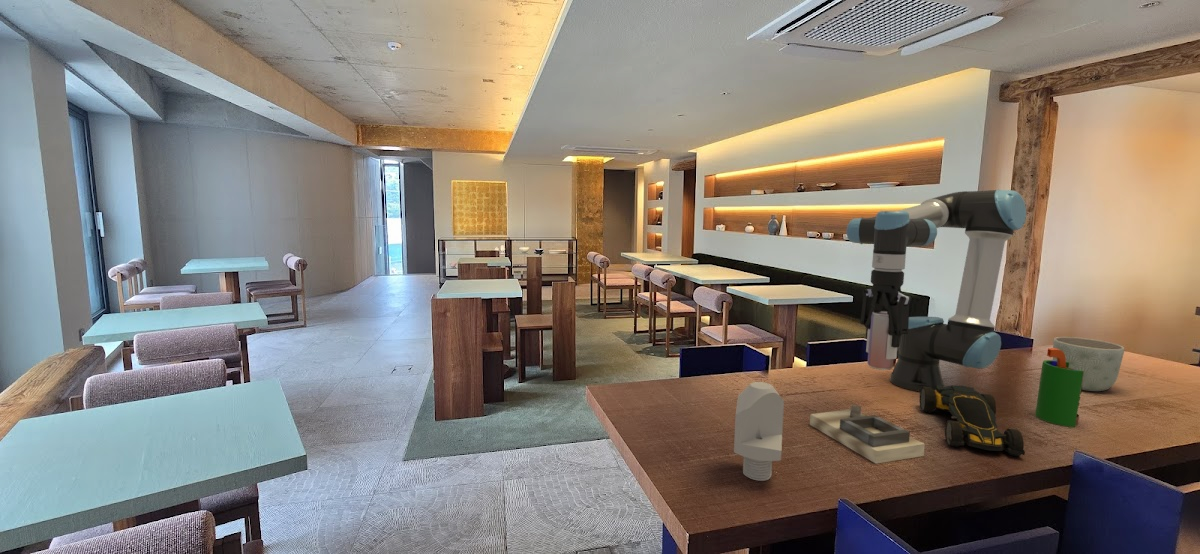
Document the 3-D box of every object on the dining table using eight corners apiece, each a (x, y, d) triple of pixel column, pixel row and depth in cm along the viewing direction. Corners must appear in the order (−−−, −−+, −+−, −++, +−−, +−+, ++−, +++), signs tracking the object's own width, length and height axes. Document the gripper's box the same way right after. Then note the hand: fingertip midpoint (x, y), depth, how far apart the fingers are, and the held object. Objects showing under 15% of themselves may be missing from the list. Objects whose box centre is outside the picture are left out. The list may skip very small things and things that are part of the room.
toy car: (984, 414, 143) (988, 381, 142) (1030, 464, 114) (1035, 423, 113) (918, 405, 149) (921, 373, 148) (945, 451, 120) (949, 411, 119)
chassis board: (809, 424, 134) (811, 403, 133) (852, 419, 138) (853, 398, 137) (875, 463, 113) (877, 438, 112) (923, 456, 117) (925, 431, 116)
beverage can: (862, 364, 137) (866, 310, 135) (883, 363, 138) (887, 310, 136) (876, 371, 131) (880, 315, 129) (897, 370, 132) (902, 315, 130)
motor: (1089, 428, 134) (1098, 356, 131) (1050, 425, 135) (1059, 353, 133) (1062, 413, 143) (1071, 346, 141) (1026, 411, 145) (1034, 344, 143)
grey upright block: (732, 480, 105) (736, 389, 103) (737, 460, 114) (740, 376, 111) (779, 489, 102) (784, 395, 99) (780, 468, 111) (785, 381, 108)
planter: (1109, 384, 169) (1115, 341, 167) (1126, 400, 155) (1133, 352, 153) (1043, 375, 178) (1048, 334, 176) (1054, 389, 164) (1059, 344, 162)
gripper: (849, 266, 139) (843, 347, 142) (907, 274, 121) (899, 366, 124) (870, 266, 141) (864, 345, 144) (931, 273, 123) (923, 364, 126)
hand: (880, 355), depth 134 cm, fingers closed on beverage can, 6 cm apart
